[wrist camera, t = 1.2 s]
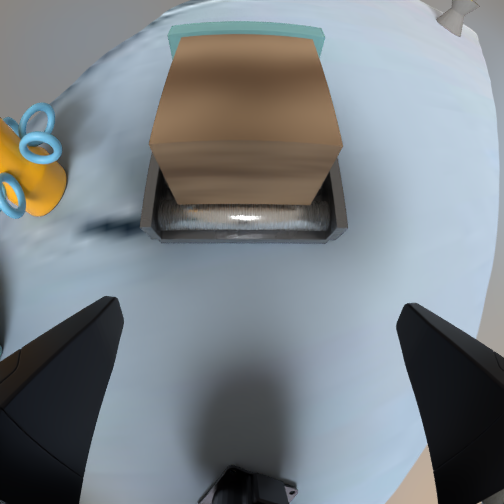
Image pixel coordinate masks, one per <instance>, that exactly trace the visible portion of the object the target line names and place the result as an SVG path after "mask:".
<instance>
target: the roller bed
mask: <svg viewBox="0 0 504 504" xmlns="http://www.w3.org/2000/svg"><path fill="white" fill-rule="evenodd" d="M140 228H141V229H142V230H143V231H144V232H145V233H146V234H147V235H148V236H149V237H150V238H151V239H158V240H159V241H160V242H161V243H319V244H325V243H327V242H328V241H329V240H336V239H337V238H338V237H339V236H340V235H341V234H342V233H343V232H344V231H346V230H347V229H348V223H347V215H346V208H345V201H344V194H343V187H342V181H341V175H340V169H339V164H338V158H336V160H335V162H334V164H333V165H332V167H331V169H330V171H329V173H328V174H327V176H326V178H325V180H324V182H323V183H322V185H321V187H320V189H319V191H318V192H317V194H316V196H315V198H314V199H313V201H312V203H311V205H280V204H186V205H178V204H177V202H176V200H175V198H174V196H173V194H172V192H171V190H170V187H169V185H168V183H167V181H166V179H165V177H164V175H163V173H162V171H161V169H160V167H159V165H158V163H157V161H156V159H155V157H154V154H153V152H152V155H151V160H150V165H149V170H148V176H147V181H146V187H145V193H144V200H143V207H142V214H141V222H140Z"/></svg>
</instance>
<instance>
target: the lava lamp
mask: <svg viewBox="0 0 504 504" xmlns="http://www.w3.org/2000/svg"><path fill="white" fill-rule="evenodd" d="M478 7H480V6H479V5H478V4H477V3H476V2H474V1H473V0H452V8H450V9H449V10H448V11H447V12H445V13H444V14H443V15H441V16H440V17H439V18H437V19H436V20H437V22H438V23H439V24H441V25H442V26H443V27H444V28H446V29H447V30H448V31H450V32H451V33H453V34H455V35H456V36H458V37H461V31H462V25H463V18H464V16H465V15H467V14H468V13H470V12H472V11H473V10H475V9H477V8H478Z"/></svg>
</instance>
